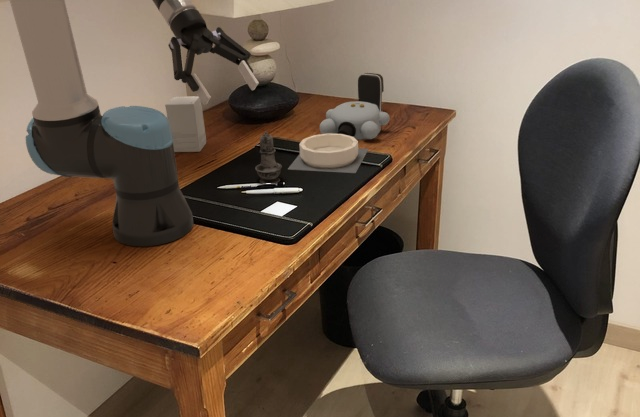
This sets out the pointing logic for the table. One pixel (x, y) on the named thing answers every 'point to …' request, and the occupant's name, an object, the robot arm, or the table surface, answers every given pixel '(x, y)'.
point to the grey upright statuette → (268, 161)
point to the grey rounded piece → (354, 120)
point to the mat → (350, 168)
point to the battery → (371, 89)
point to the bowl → (329, 150)
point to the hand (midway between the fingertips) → (232, 94)
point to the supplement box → (186, 123)
